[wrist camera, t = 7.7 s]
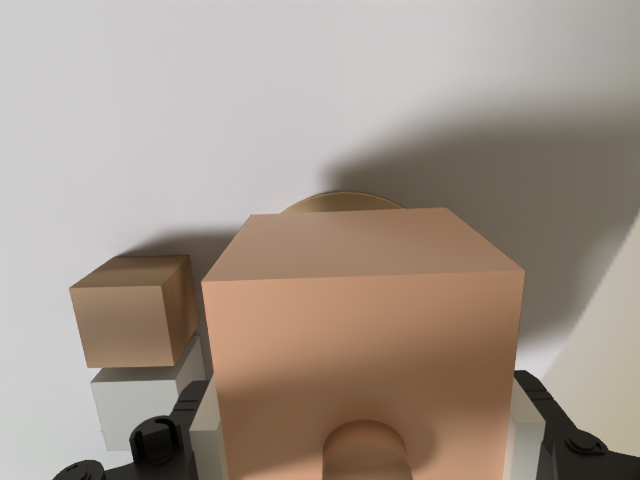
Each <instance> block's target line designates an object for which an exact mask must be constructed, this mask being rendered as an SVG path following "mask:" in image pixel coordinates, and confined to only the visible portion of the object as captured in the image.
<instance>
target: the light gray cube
mask: <svg viewBox="0 0 640 480" xmlns="http://www.w3.org/2000/svg"><path fill="white" fill-rule="evenodd" d="M197 380H206V376H205V369H204V362H203V356H202V349H201V342H200V336H191V338H190V340H189V341H188V343H187V345H186V346H185V348H184V350H183V352H182V353H181V355H180V357H179V358H178V360H177V362H176V363H175V365H174V366H153V367H109V368H102V369H101V371H100V372H99V373H98V374H97V375H96V376H95V378H94V379H93V380H92V381H91V382H90V384H91V388H92V392H93V396H94V400H95V404H96V408H97V412H98V416H99V420H100V424H101V428H102V432H103V436H104V440H105V444H106V448H107V451H128V450H131V447H130V442H129V438H130V435H131V433H132V431H133V430H134V429H135V428H136V427H137V426H138V425H139V424H141V423H142V422H143V421H145V420H147V419H150V418H152V417H155V416H161V415H167V416H169V415H170V413H171V412H172V409H173V407H174V405H175V403H177V399H178V397H179V396H180V394H181V392H182V390H183V389H184V388H185V387H186V386H187V385H188V384H190V383H191V382H192V381H197Z"/></svg>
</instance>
